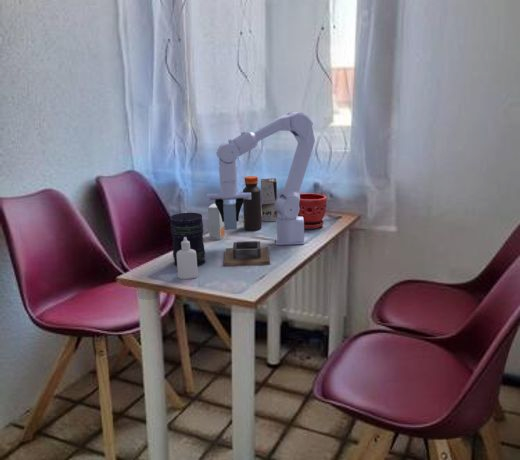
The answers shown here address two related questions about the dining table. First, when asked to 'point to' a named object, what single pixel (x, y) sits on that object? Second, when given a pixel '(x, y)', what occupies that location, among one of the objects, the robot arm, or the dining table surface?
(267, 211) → the coffee box
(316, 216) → the plant pot
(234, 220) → the peg
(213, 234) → the skincare box
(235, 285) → the dining table surface
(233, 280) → the dining table surface
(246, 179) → the vinegar
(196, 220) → the storage jar
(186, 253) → the eye dropper bottle
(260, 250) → the socket
